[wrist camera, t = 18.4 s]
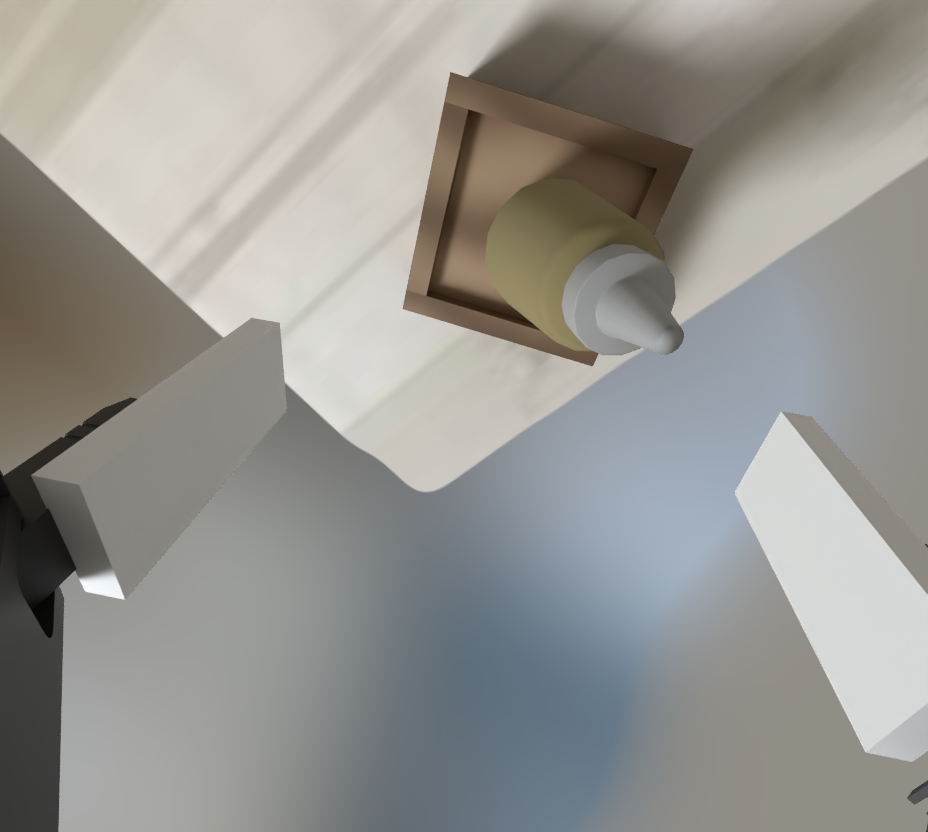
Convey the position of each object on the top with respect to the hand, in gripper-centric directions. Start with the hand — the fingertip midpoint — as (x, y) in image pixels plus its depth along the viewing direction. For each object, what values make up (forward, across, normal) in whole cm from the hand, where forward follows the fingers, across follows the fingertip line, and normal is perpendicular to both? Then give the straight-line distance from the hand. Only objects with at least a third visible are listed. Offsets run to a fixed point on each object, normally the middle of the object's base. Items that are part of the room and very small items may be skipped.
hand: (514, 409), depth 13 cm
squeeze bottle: (+24, 0, 0) cm, 24 cm away
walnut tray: (+30, 0, 0) cm, 30 cm away
